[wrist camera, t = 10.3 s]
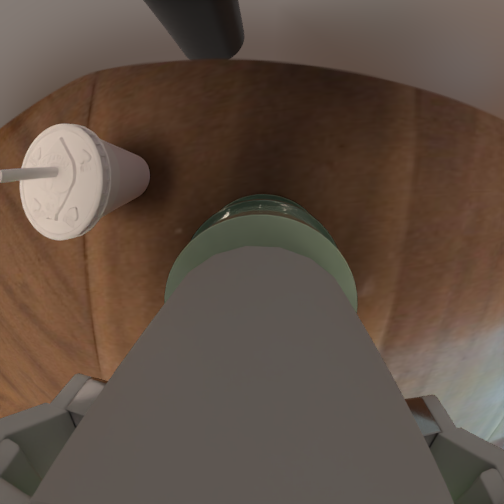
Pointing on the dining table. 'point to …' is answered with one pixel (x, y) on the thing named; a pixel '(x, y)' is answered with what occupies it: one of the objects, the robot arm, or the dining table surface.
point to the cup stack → (264, 238)
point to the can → (249, 401)
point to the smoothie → (75, 180)
